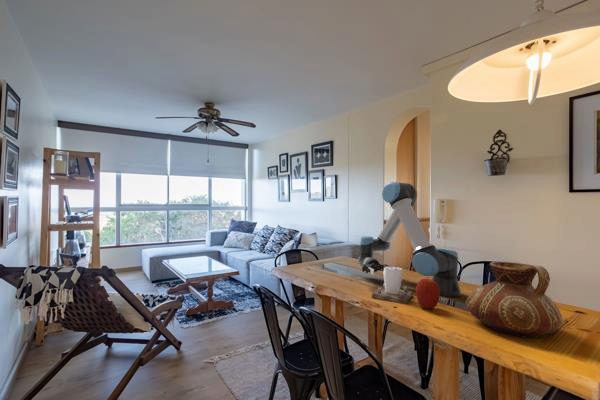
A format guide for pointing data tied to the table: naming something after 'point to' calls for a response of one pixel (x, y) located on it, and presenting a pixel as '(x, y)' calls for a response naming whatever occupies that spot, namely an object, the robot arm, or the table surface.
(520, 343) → the table surface
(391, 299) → the peg stand
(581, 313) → the table surface
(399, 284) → the cup
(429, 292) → the apple
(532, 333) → the jug
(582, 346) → the table surface
